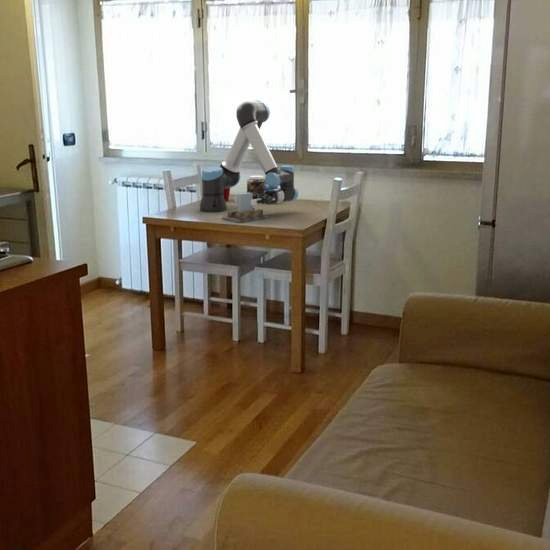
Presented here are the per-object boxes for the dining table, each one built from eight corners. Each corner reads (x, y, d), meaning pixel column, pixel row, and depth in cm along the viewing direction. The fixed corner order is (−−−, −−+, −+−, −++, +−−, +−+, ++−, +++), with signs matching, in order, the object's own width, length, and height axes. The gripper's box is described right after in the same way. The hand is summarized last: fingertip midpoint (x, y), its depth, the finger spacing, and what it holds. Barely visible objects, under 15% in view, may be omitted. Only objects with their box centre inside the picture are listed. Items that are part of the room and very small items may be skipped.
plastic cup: (230, 202, 426) (229, 182, 423) (212, 201, 428) (212, 181, 425) (234, 199, 436) (234, 179, 433) (217, 199, 438) (217, 179, 435)
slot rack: (238, 222, 363) (238, 214, 362) (222, 219, 373) (222, 211, 372) (268, 217, 376) (268, 210, 375) (251, 214, 386) (251, 206, 385)
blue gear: (267, 205, 415) (267, 184, 412) (262, 203, 421) (261, 183, 418) (284, 203, 421) (284, 183, 418) (279, 201, 426) (278, 181, 423)
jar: (249, 199, 436) (249, 174, 432) (268, 199, 434) (268, 175, 430) (245, 202, 425) (244, 177, 421) (264, 203, 423) (263, 177, 419)
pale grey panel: (241, 217, 371) (240, 194, 368) (238, 217, 373) (237, 194, 370) (252, 215, 376) (252, 193, 373) (249, 215, 378) (249, 192, 375)
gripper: (289, 206, 377) (258, 211, 363) (258, 200, 395) (228, 205, 381) (289, 192, 375) (258, 196, 361) (258, 187, 393) (228, 191, 379)
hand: (242, 200), depth 371 cm, fingers open, 13 cm apart
